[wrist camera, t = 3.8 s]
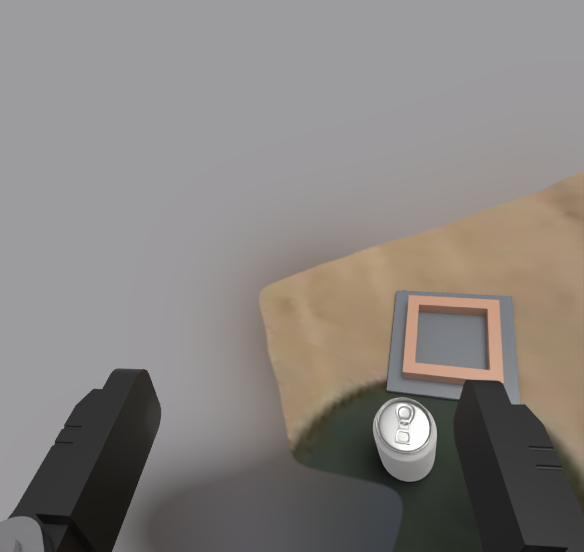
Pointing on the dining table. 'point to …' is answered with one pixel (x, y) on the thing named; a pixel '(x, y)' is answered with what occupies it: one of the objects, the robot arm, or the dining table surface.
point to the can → (405, 438)
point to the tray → (451, 344)
